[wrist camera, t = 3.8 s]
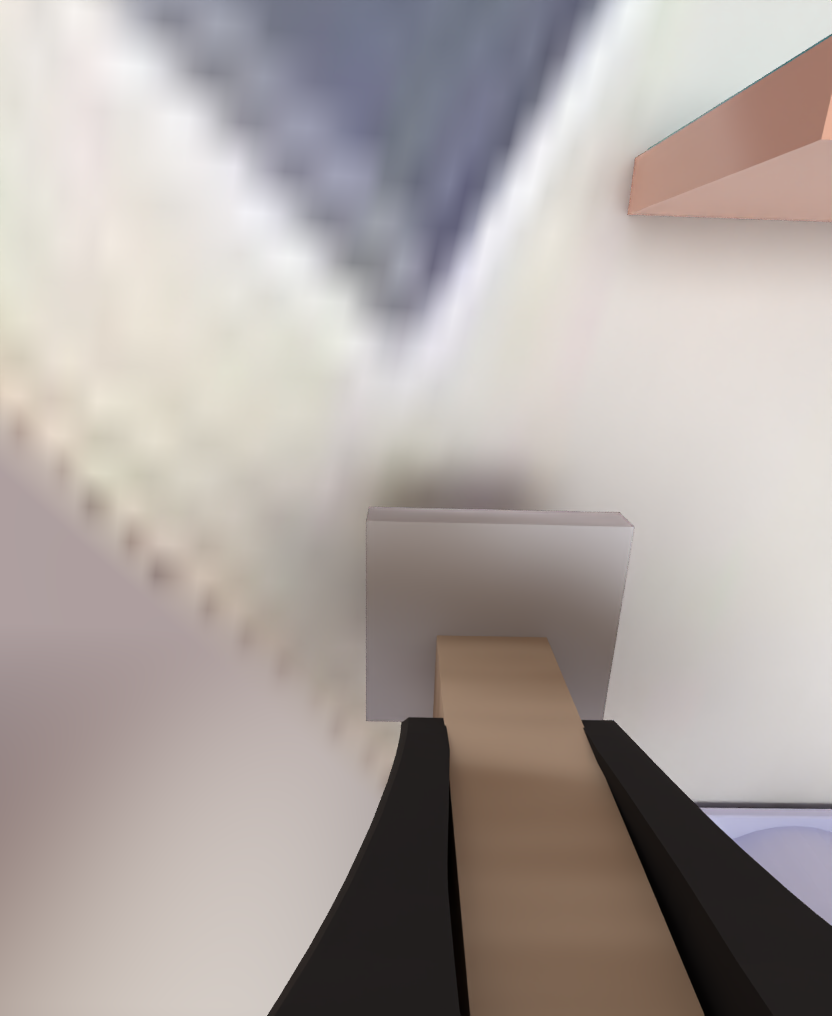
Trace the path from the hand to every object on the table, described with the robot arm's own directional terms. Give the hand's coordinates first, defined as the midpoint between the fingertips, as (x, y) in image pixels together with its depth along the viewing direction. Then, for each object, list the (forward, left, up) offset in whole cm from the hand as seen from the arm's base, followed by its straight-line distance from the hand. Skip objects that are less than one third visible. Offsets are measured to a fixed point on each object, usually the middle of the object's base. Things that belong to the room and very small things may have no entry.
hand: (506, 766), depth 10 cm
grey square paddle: (+1, 0, -3) cm, 3 cm away
